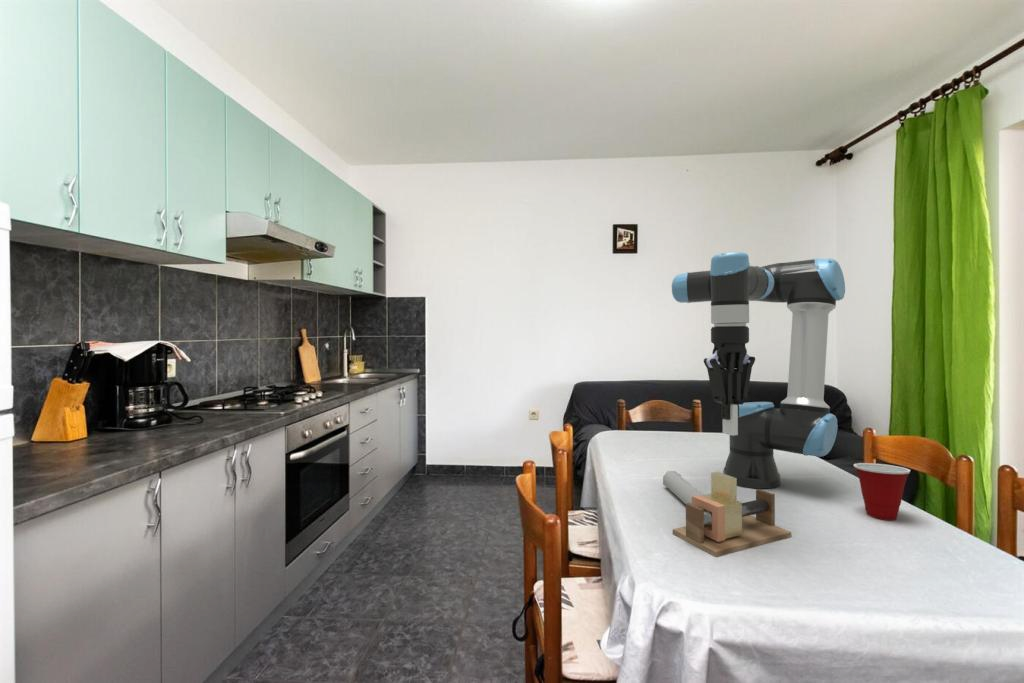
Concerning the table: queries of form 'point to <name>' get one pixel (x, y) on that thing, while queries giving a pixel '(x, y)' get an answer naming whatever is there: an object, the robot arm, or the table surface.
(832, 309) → the robot arm
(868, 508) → the plastic cup
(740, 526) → the sleeve
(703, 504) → the square pink collar
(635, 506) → the table surface
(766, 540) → the base board
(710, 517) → the pipe
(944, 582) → the table surface
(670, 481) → the tube
